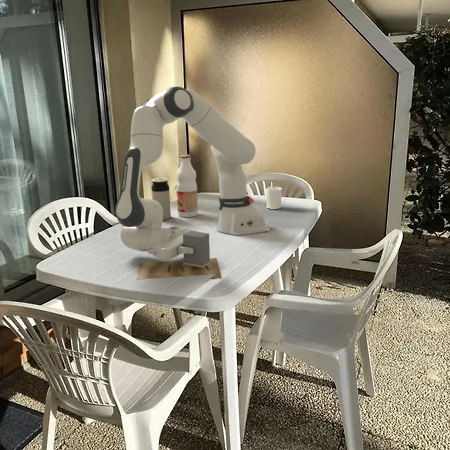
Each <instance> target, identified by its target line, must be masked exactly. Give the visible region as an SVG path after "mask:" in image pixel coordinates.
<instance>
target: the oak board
mask: <svg viewBox="0 0 450 450" xmlns="http://www.w3.org/2000/svg"><path fill="white" fill-rule="evenodd" d="M220 268H221V267H220V265H219V262H218V259H217V257H213V258H212V257H210V263H209V264H207V265H206V266H204V267H198V266H192V265H187V264H184V259H182V260H181V259H179V260H161V261H149V262H148V261H146V262H145V261H144V262H139V263H138V268H137V275H136V280H147V279H164V278H179V277H193V276H194V277H195V276H196V277H197V276H208V275H209V276H211V275H212V277H211V278H210V280H216V279H222V272H221V269H220Z"/></svg>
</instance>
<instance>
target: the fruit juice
mask: <svg viewBox="0 0 450 450" xmlns="http://www.w3.org/2000/svg"><path fill="white" fill-rule="evenodd" d="M179 159H180V164H179V167H178V169H177V170H176V175H175V176H176V177H175V178H176V180H177V183H176V203H177V215H178V216H179V217H181V218H193V217H196V216H198V213H199V206H198V185H197V181H196V180H197V179H196V178H197V172H196V169H194V167H193V165H192V163H191V159H192V157H191V154H180V156H179Z"/></svg>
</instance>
